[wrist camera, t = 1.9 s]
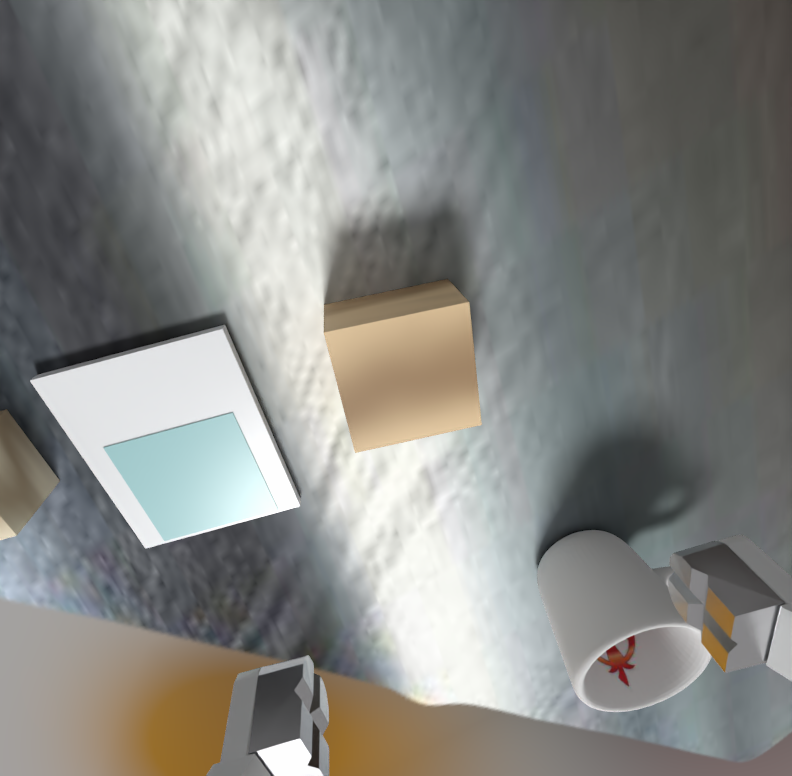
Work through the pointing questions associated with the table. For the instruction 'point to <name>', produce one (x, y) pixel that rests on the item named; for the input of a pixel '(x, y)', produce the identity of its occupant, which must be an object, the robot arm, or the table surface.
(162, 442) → the plate
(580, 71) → the table surface
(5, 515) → the maple block
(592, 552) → the cup
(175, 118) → the table surface
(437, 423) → the oak block
